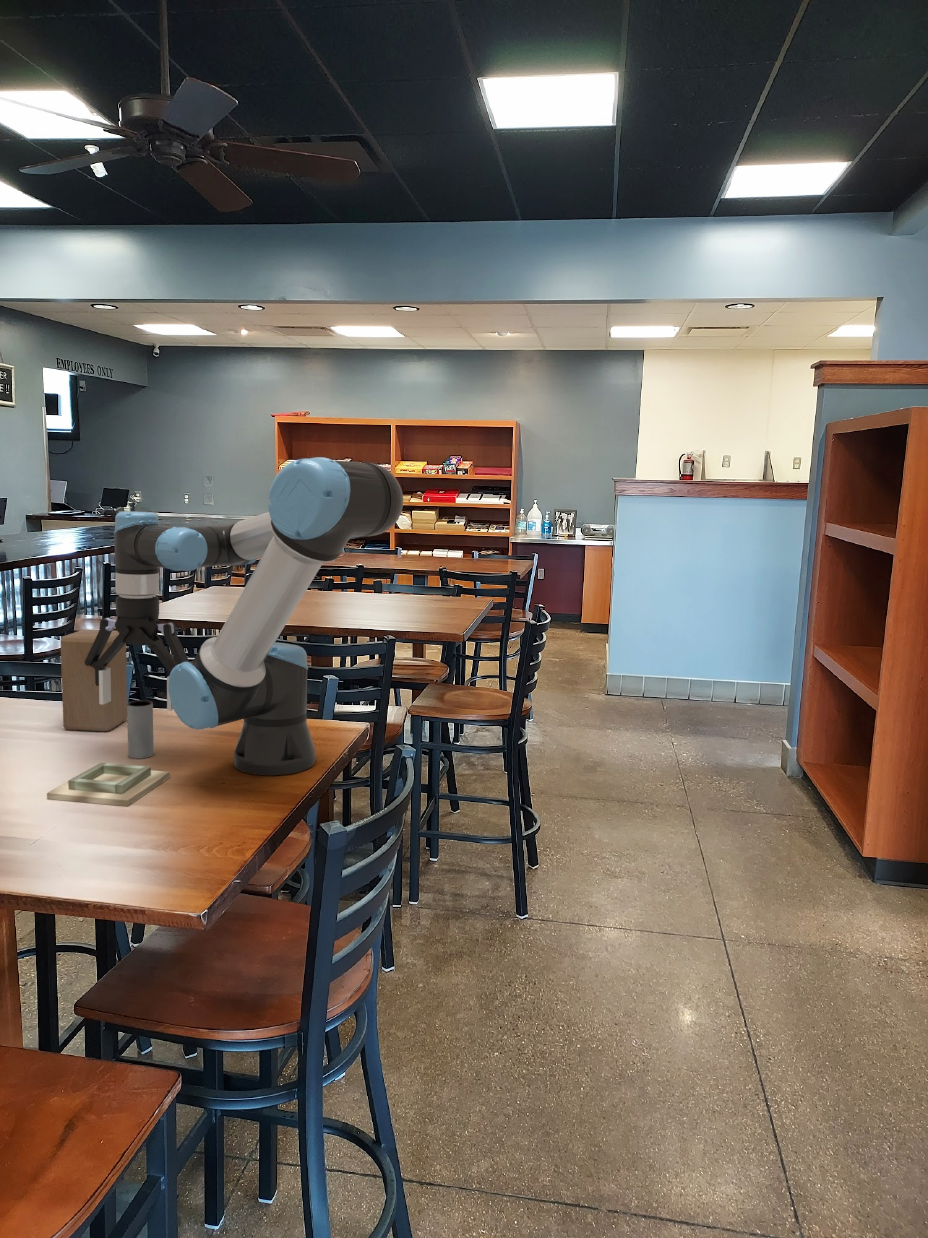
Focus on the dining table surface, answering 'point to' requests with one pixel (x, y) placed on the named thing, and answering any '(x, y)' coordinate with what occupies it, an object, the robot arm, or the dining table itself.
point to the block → (91, 685)
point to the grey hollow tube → (140, 729)
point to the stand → (110, 784)
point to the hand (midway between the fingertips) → (138, 706)
